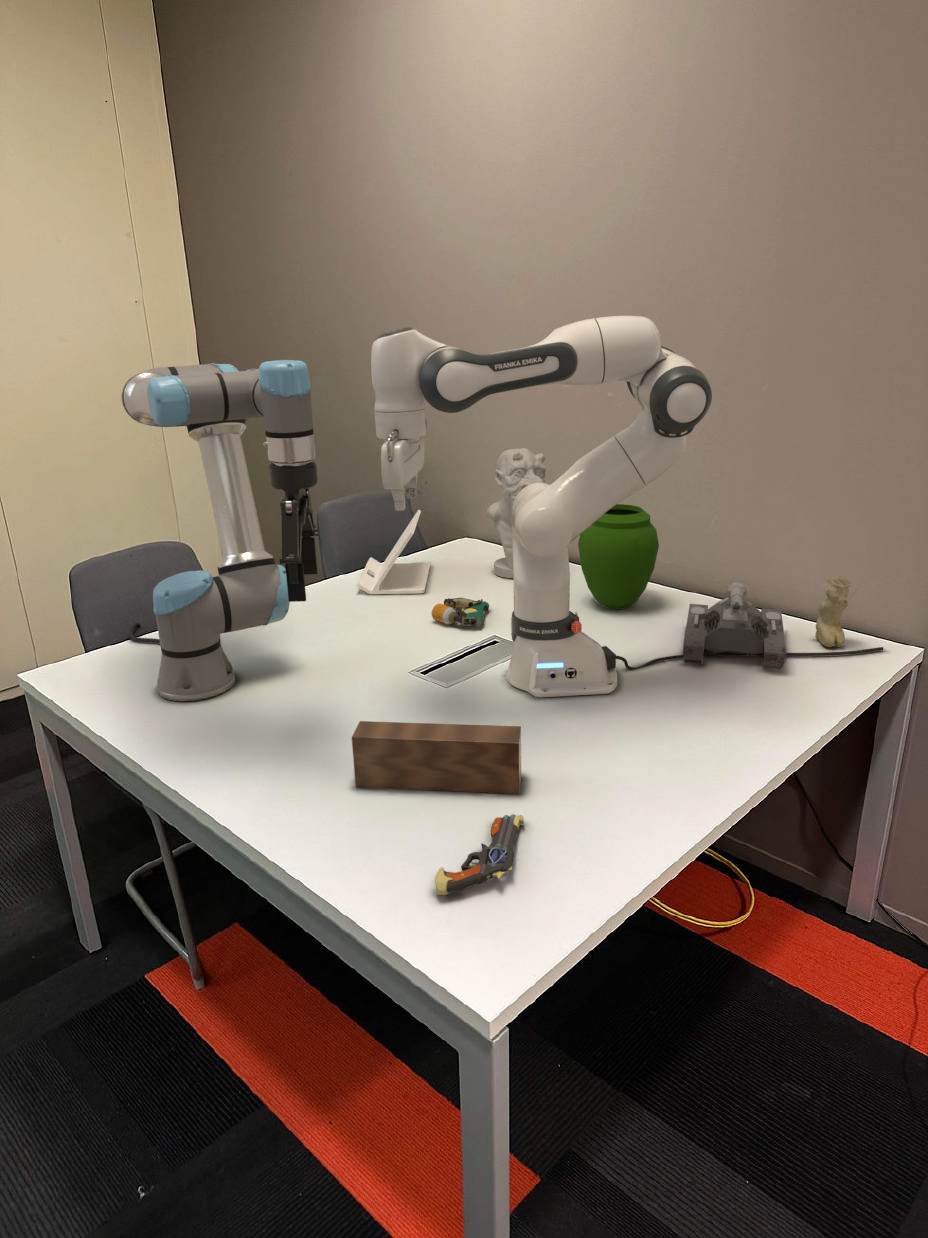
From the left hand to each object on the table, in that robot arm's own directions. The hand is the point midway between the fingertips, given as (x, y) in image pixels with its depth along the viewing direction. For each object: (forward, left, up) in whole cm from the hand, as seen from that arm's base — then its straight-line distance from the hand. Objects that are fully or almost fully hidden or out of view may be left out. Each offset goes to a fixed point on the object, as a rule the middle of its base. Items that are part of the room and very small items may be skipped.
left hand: (303, 586), depth 144 cm
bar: (+28, +3, -28) cm, 40 cm away
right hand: (+2, +22, +10) cm, 25 cm away
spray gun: (-21, +61, -28) cm, 70 cm away
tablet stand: (-56, +71, -28) cm, 95 cm away
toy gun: (+47, -8, -28) cm, 55 cm away
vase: (+3, +91, -28) cm, 96 cm away
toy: (+38, +84, -28) cm, 96 cm away
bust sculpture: (-30, +96, -28) cm, 105 cm away
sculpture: (+53, +99, -28) cm, 116 cm away
